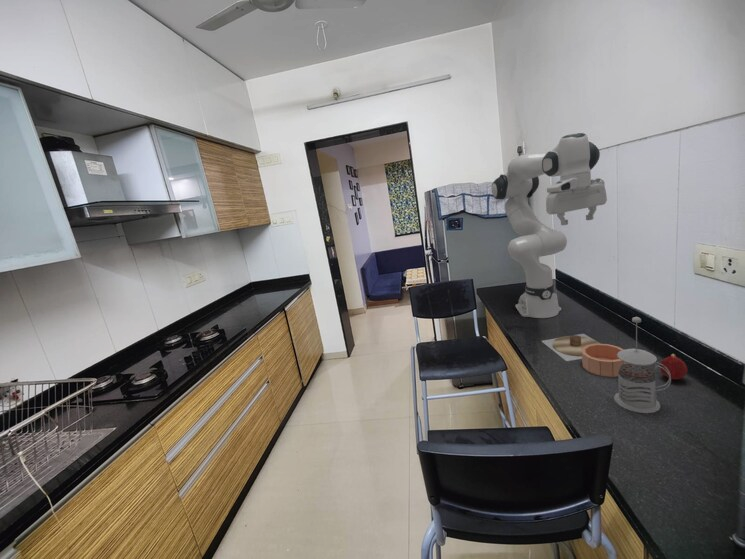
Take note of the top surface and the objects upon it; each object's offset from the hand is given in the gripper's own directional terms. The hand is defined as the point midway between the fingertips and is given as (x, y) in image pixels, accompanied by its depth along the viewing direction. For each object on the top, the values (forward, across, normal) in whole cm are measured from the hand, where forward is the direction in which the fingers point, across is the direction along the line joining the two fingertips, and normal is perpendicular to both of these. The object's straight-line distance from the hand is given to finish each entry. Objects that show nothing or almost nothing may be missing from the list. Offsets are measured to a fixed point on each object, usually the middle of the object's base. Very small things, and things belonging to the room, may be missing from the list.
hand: (577, 222), depth 112 cm
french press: (+46, +12, +37) cm, 60 cm away
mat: (+46, +6, +4) cm, 46 cm away
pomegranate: (+46, -4, +31) cm, 56 cm away
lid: (+46, +6, +4) cm, 46 cm away
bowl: (+46, +7, +19) cm, 50 cm away
